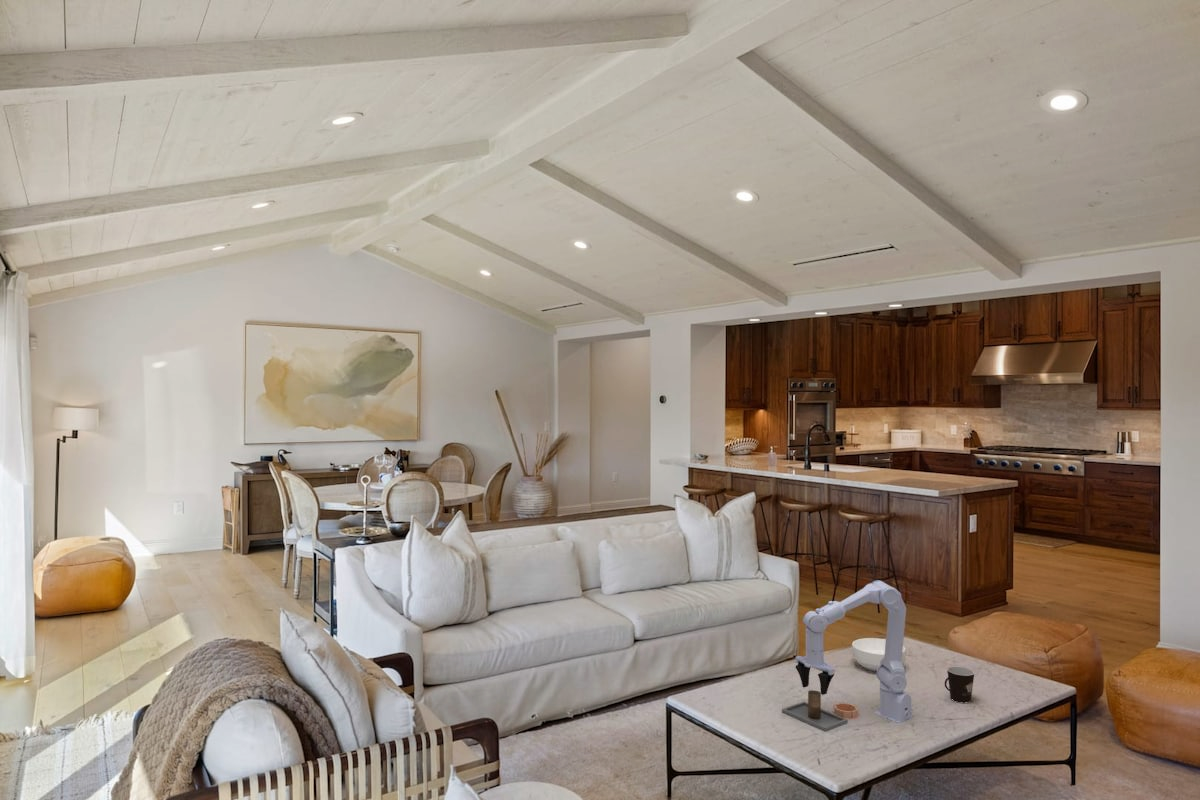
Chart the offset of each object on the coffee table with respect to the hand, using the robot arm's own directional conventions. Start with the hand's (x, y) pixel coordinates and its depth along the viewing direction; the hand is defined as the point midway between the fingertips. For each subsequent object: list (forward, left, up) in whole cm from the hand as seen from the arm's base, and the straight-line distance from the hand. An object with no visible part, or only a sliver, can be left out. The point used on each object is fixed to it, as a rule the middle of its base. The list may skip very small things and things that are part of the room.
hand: (814, 690), depth 256 cm
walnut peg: (0, 0, -9) cm, 9 cm away
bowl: (+17, -58, -10) cm, 61 cm away
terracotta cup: (-4, -11, -9) cm, 15 cm away
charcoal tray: (0, 0, -9) cm, 9 cm away
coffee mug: (-18, -53, -10) cm, 57 cm away
